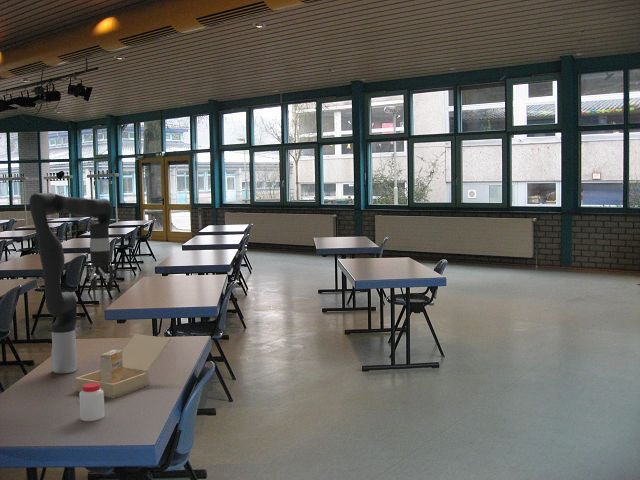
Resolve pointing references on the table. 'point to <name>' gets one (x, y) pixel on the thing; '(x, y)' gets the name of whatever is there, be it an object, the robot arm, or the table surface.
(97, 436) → the table surface
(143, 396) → the table surface
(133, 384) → the box
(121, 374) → the supplement box
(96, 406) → the pill bottle
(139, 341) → the flap
